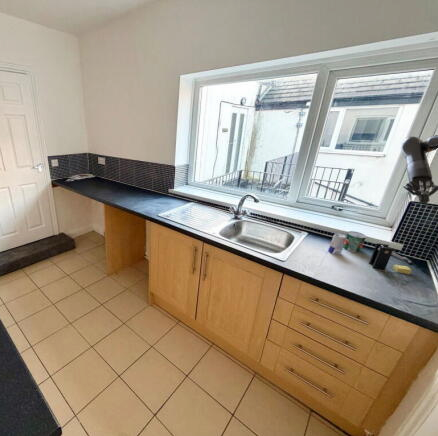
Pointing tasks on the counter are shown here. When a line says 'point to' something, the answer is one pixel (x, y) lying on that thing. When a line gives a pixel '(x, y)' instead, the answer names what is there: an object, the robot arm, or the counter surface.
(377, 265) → the slicer
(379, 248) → the blade
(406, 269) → the butter
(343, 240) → the energy drink
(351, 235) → the canned tomato
